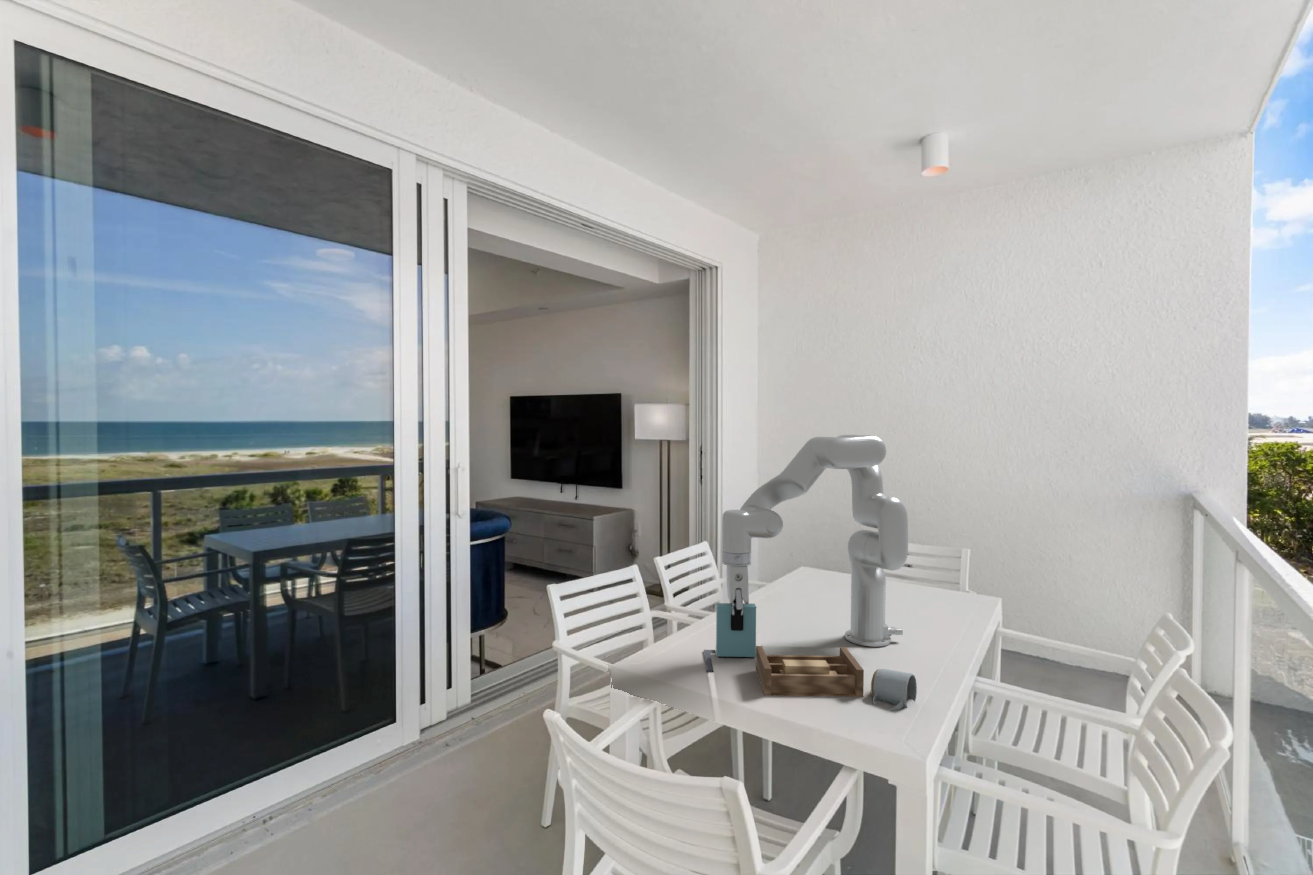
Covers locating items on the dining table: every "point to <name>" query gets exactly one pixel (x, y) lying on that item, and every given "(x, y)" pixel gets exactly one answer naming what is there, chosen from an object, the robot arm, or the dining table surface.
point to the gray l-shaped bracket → (709, 660)
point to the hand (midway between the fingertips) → (736, 627)
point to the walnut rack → (810, 676)
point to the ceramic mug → (893, 687)
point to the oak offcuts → (806, 667)
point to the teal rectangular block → (735, 632)
